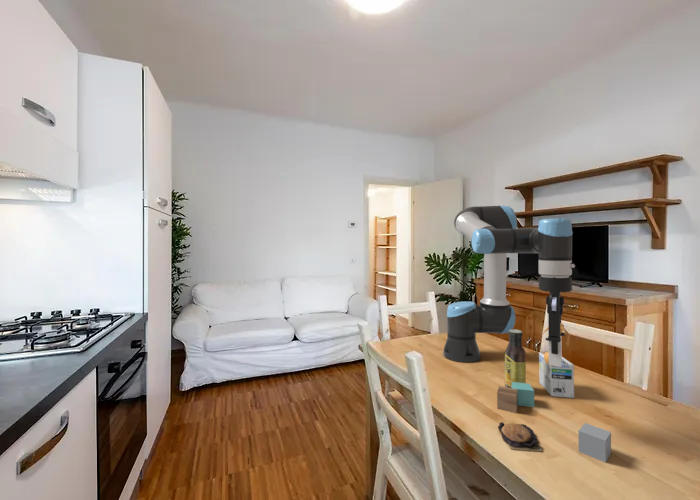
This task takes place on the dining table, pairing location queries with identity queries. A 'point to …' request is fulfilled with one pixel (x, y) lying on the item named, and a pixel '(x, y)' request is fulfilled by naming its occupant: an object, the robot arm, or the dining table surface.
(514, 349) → the sauce bottle
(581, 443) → the slate grey cube
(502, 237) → the robot arm
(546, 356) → the figurine
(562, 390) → the light bulb box
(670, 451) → the dining table surface
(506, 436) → the bread roll
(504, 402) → the walnut cube
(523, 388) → the teal painted cube
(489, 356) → the dining table surface
